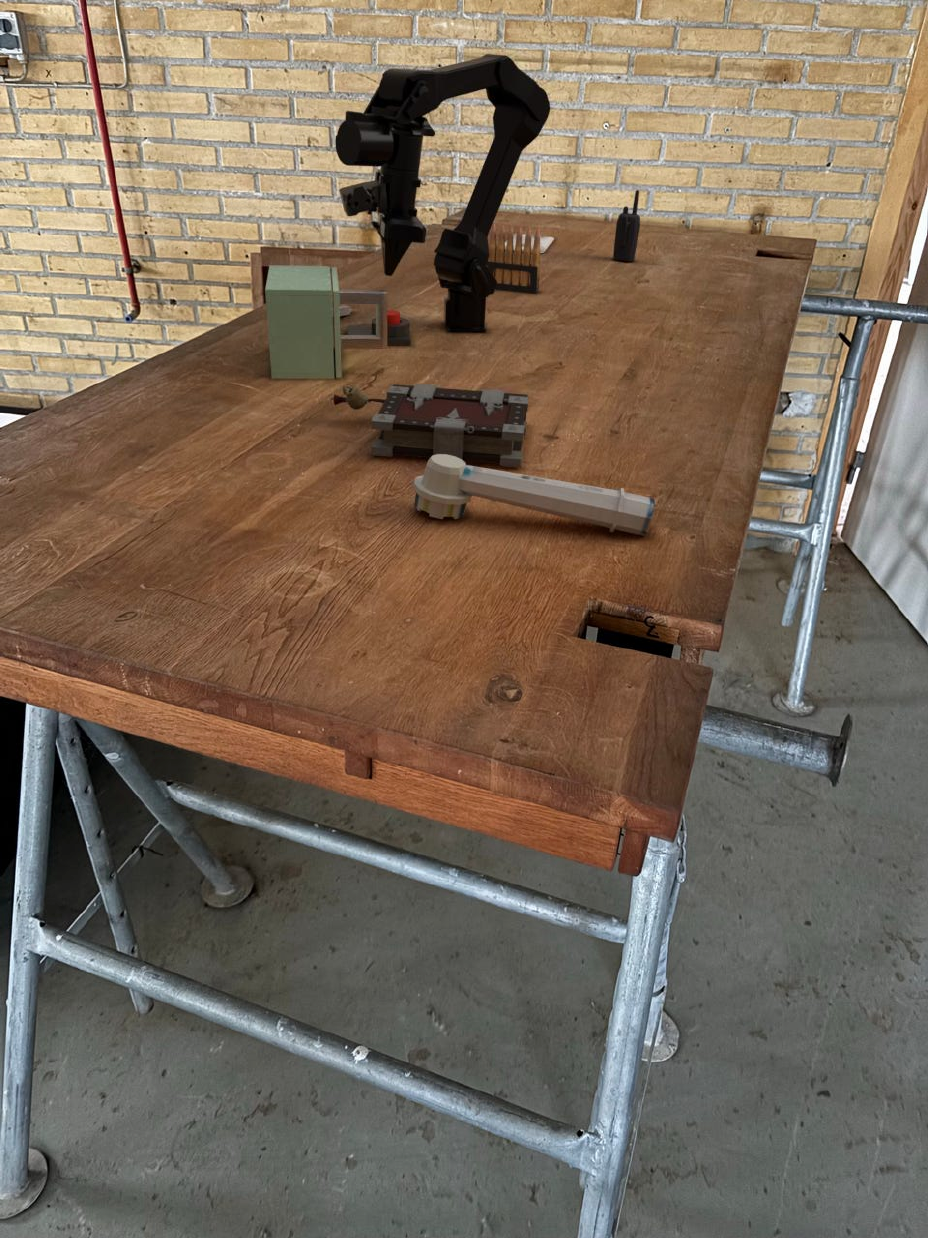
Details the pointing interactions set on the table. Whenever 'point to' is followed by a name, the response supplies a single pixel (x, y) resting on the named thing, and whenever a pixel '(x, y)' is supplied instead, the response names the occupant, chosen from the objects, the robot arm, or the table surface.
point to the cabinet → (300, 322)
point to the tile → (544, 242)
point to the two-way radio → (627, 233)
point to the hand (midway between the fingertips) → (388, 274)
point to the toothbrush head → (527, 495)
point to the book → (447, 422)
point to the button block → (395, 332)
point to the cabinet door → (358, 340)
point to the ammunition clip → (514, 261)
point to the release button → (393, 317)
